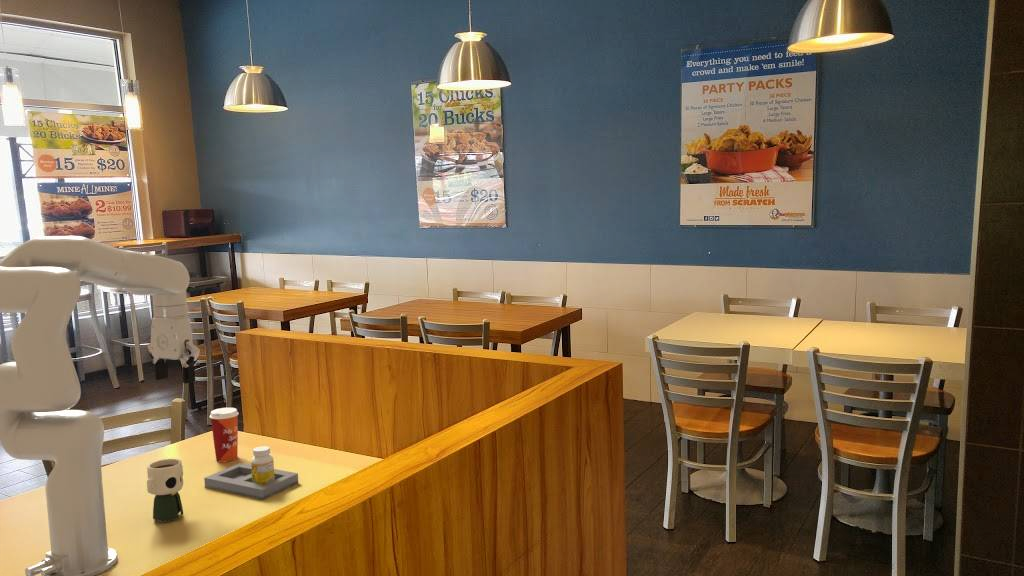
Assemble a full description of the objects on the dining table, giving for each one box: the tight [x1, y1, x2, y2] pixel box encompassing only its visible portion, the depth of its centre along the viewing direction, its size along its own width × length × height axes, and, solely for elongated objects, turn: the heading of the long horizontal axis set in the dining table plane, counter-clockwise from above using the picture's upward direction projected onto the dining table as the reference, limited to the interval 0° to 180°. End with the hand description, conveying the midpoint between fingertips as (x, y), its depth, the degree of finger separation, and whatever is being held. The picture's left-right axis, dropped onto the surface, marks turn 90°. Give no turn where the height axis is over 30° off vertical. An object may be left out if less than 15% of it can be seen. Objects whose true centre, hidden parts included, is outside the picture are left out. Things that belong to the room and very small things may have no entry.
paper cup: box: [209, 407, 240, 463], centre depth 205 cm, size 8×8×14 cm
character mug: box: [146, 458, 184, 523], centre depth 165 cm, size 11×7×13 cm, turn 166°
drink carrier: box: [203, 462, 299, 500], centre depth 185 cm, size 12×20×2 cm, turn 64°
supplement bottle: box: [250, 445, 275, 485], centre depth 182 cm, size 5×5×10 cm
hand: (175, 380), depth 179 cm, fingers open, 9 cm apart
